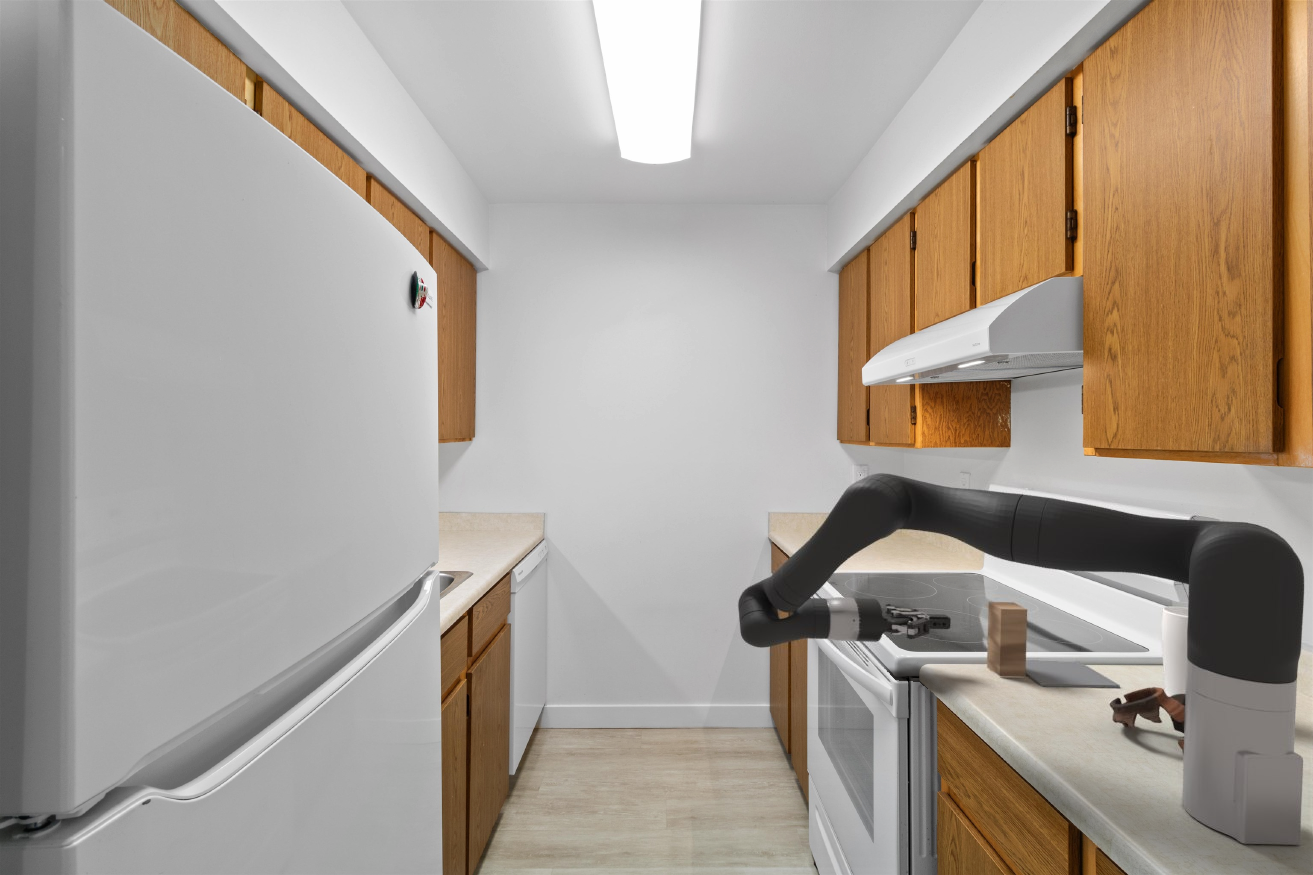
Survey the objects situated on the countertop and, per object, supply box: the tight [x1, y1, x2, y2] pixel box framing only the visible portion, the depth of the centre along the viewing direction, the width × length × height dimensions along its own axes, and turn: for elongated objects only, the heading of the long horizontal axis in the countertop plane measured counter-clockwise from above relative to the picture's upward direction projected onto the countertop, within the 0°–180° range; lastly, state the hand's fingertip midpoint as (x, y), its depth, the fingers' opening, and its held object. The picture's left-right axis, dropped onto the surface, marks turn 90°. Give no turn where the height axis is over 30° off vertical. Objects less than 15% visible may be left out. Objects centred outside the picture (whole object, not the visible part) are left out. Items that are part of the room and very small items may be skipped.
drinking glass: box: [1160, 605, 1188, 697], centre depth 104 cm, size 7×7×15 cm
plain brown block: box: [986, 601, 1028, 679], centre depth 117 cm, size 4×4×12 cm
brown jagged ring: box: [1109, 686, 1186, 756], centre depth 93 cm, size 12×10×8 cm
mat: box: [1026, 660, 1121, 689], centre depth 117 cm, size 12×13×1 cm
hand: (948, 621), depth 117 cm, fingers closed
